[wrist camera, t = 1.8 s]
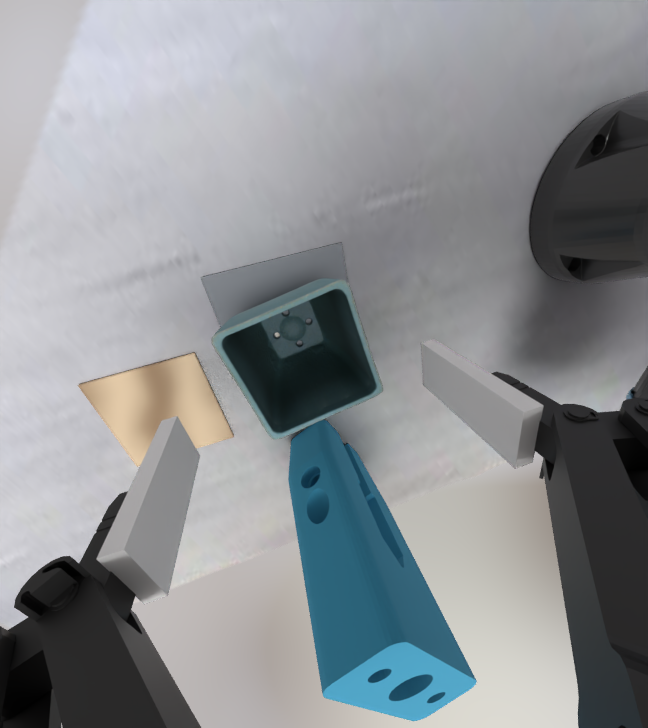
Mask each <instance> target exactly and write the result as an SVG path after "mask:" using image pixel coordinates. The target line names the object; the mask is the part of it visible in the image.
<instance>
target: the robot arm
mask: <svg viewBox="0 0 648 728" xmlns="http://www.w3.org/2000/svg"><path fill="white" fill-rule="evenodd" d="M531 243H532V249H533V252H534V255H535V258H536V260H537V262H538V264H539V265H540V267H541V268H542V269H543V270H544V271H545V272H546V273H547V274H549V275H550V276H552V277H554V278H556V279H559V280H564V281H570V282H576V283H583V284H594V283H603V282H610V281H618V280H625V279H633V278H641V277H648V91H645V92H641V93H638V94H636V95H633V96H630V97H627V98H624V99H621V100H618V101H616V102H613V103H610V104H608V105H606V106H604V107H602V108H601V109H599V110H597V111H596V112H594V113H593V114H592V115H590V116H589V117H588V118H586V119H585V120H584V121H583V122H582V123H581V124H580V125H579V126H578V127H577V128H576V129H575V130H574V131H573V132H572V133H571V134H570V135H569V136H568V138H567V139H566V140H565V141H564V143H563V144H562V145H561V147H560V148H559V150H558V151H557V153H556V154H555V156H554V157H553V159H552V161H551V162H550V164H549V166H548V168H547V170H546V172H545V174H544V176H543V178H542V181H541V183H540V186H539V189H538V191H537V195H536V198H535V202H534V206H533V211H532V217H531ZM421 354H422V373H423V385H424V386H425V387H426V388H427V389H428V390H429V391H431V392H432V393H433V394H434V395H435V396H436V397H437V398H438V399H439V400H440V401H441V402H443V403H444V404H445V405H446V406H447V407H448V408H449V409H450V410H451V411H452V412H453V413H455V414H456V415H457V416H458V417H459V418H460V419H461V420H462V421H463V422H464V423H466V424H467V425H468V426H469V427H470V428H471V429H472V430H473V431H474V432H475V433H476V434H478V435H479V436H480V437H481V438H482V439H483V440H484V441H485V442H486V443H487V444H488V445H490V446H491V447H492V448H493V449H494V450H495V451H496V452H497V453H498V454H499V455H501V456H502V457H503V458H504V459H505V460H506V461H507V462H508V463H509V464H510V465H511V466H513V467H514V468H515V469H516V468H519V467H521V466H524V465H527V464H530V463H532V462H533V458H534V453H535V451H536V452H538V453H539V454H540V455H541V456H542V457H544V458H543V463H542V468H541V472H540V478H541V479H543V477H545V484H546V490H547V496H548V502H549V508H550V515H551V521H552V527H553V533H554V540H555V546H556V552H557V558H558V564H559V570H560V576H561V583H562V589H563V596H564V601H565V608H566V613H567V620H568V626H569V633H570V639H571V645H572V651H573V657H574V664H575V670H576V676H577V683H578V693H579V704H578V726H579V728H648V366H647V368H646V370H645V371H644V373H643V374H642V376H641V378H640V379H639V381H638V382H637V384H636V386H635V387H633V388H632V389H631V390H630V391H629V393H628V395H626V399H627V400H625V401H623V404H622V406H621V409H620V411H613V412H600V413H598V412H596V411H594V410H593V409H590V408H588V407H585V406H581V405H576V404H563V405H560V404H559V403H557V402H555V401H553V400H552V399H550V398H548V397H546V396H545V395H543V394H541V393H539V392H538V391H536V390H534V389H532V388H531V387H530V388H529V387H528V386H527V385H525V384H524V383H520V381H518V380H517V379H515V378H513V377H511V376H509V375H506V374H503V373H499V372H494V373H489V372H488V371H486V370H484V369H483V368H481V367H479V366H478V365H476V364H474V363H473V362H471V361H469V360H468V359H466V358H465V357H463V356H461V355H460V354H458V353H456V352H455V351H453V350H451V349H450V348H448V347H446V346H445V345H443V344H442V343H440V342H438V341H437V340H435V339H431V340H428V341H425V342H421ZM199 458H200V455H199V453H198V451H197V449H196V448H195V446H194V444H193V442H192V441H191V439H190V437H189V435H188V434H187V432H186V430H185V428H184V427H183V425H182V423H181V421H180V420H179V418H178V416H175V417H172V418H169V419H165V420H162V421H161V423H160V425H159V427H158V429H157V431H156V433H155V436H154V438H153V440H152V442H151V444H150V446H149V448H148V450H147V453H146V455H145V457H144V459H143V461H142V463H141V465H140V467H139V469H138V472H137V474H136V476H135V478H134V480H133V482H132V484H131V486H130V489H129V491H127V492H124V493H121V494H119V495H118V497H117V498H116V499H115V500H114V501H113V502H112V504H111V505H110V506H109V507H108V509H107V511H106V513H105V515H104V517H103V519H102V522H101V523H100V525H99V527H98V529H97V530H96V531H97V533H95V534H94V536H93V538H92V540H91V542H90V544H89V546H88V548H87V550H86V552H85V554H84V556H83V558H82V560H81V561H80V563H77V562H76V561H75V560H74V559H73V558H71V557H70V556H64V557H60V558H58V559H55V560H53V561H51V562H50V563H48V564H47V565H45V566H44V567H42V568H41V569H40V570H38V571H37V572H36V573H35V574H34V575H33V576H32V577H31V578H30V579H29V580H28V581H27V582H26V584H25V585H24V586H23V587H22V588H21V590H20V592H19V594H18V595H17V597H16V599H15V606H14V608H16V609H18V610H19V611H21V612H22V613H24V614H25V615H27V616H28V618H27V619H25V620H24V621H22V622H20V623H19V624H17V625H15V626H14V627H12V628H11V629H9V630H6V629H4V628H2V627H1V626H0V728H61V722H62V726H63V728H201V726H200V725H199V723H198V721H197V720H196V718H195V716H194V714H193V713H192V711H191V709H190V708H189V706H188V704H187V702H186V701H185V699H184V697H183V695H182V694H181V692H180V690H179V688H178V687H177V685H176V684H175V681H174V680H173V678H172V677H171V674H170V673H169V671H168V669H167V667H166V666H165V664H164V662H163V661H162V659H161V657H160V655H159V654H158V652H157V650H156V648H155V647H154V645H153V643H152V642H151V640H150V638H149V636H148V635H147V633H146V631H145V629H144V628H143V626H142V624H141V622H140V621H139V619H138V617H137V615H136V614H135V613H134V612H133V611H132V610H131V608H132V605H133V601H134V598H135V596H136V597H137V598H138V599H139V600H140V601H141V602H142V603H143V604H147V603H150V602H152V601H155V600H158V599H161V598H163V597H166V596H168V593H169V588H170V584H171V580H172V575H173V571H174V567H175V562H176V558H177V554H178V549H179V545H180V541H181V536H182V532H183V527H184V523H185V519H186V514H187V510H188V506H189V501H190V497H191V493H192V488H193V484H194V480H195V475H196V471H197V467H198V462H199Z"/></svg>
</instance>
